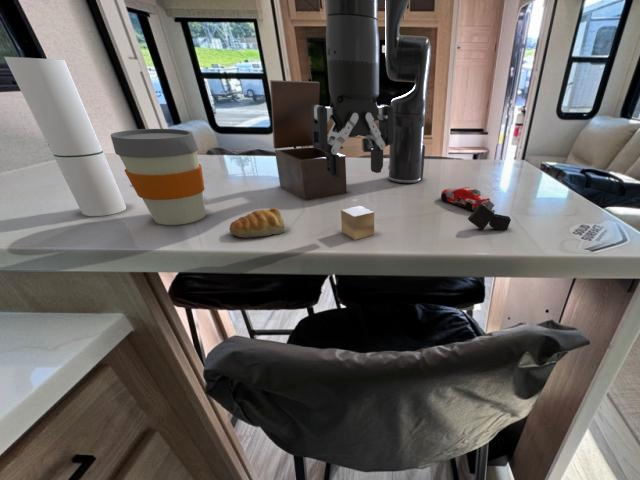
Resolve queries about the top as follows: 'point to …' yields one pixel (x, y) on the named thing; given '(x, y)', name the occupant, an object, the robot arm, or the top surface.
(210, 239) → the top surface
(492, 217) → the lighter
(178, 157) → the reusable coffee cup
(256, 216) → the pastry
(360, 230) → the block
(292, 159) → the chest
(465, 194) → the race car
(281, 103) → the lid
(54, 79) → the cylindrical container
